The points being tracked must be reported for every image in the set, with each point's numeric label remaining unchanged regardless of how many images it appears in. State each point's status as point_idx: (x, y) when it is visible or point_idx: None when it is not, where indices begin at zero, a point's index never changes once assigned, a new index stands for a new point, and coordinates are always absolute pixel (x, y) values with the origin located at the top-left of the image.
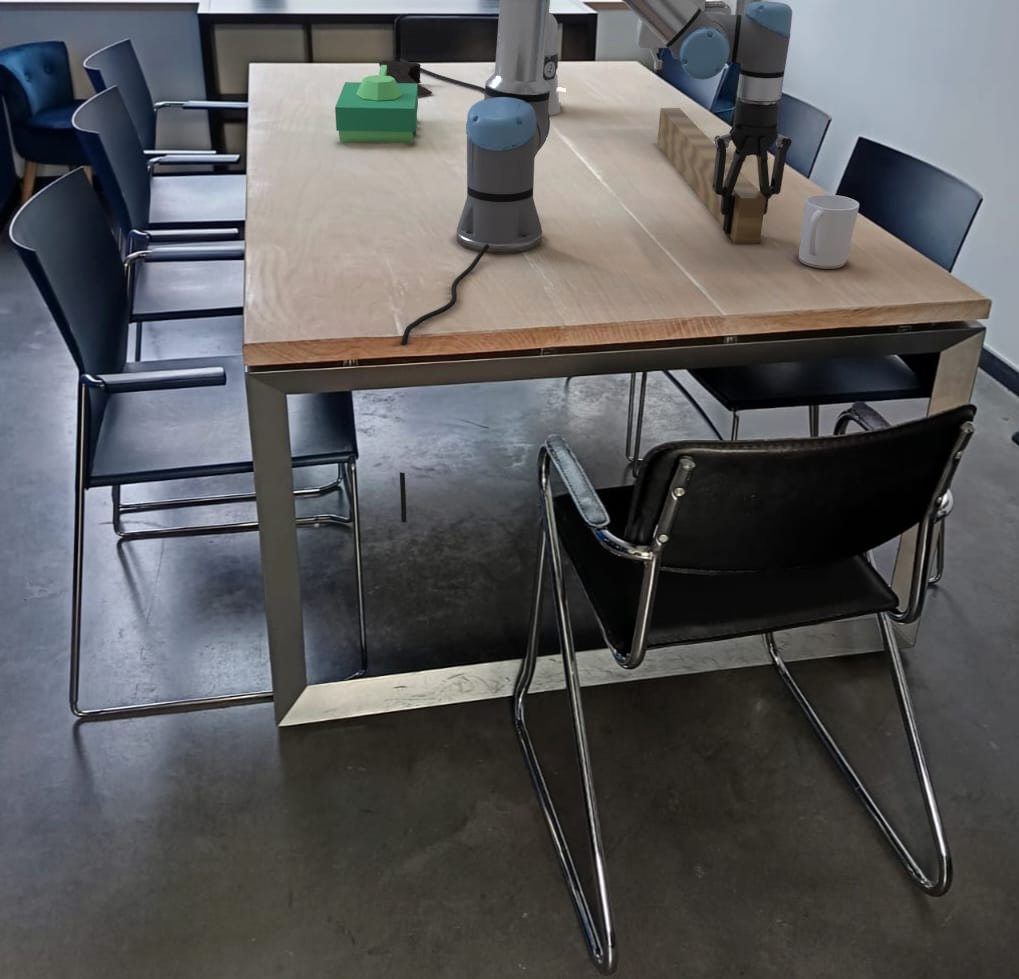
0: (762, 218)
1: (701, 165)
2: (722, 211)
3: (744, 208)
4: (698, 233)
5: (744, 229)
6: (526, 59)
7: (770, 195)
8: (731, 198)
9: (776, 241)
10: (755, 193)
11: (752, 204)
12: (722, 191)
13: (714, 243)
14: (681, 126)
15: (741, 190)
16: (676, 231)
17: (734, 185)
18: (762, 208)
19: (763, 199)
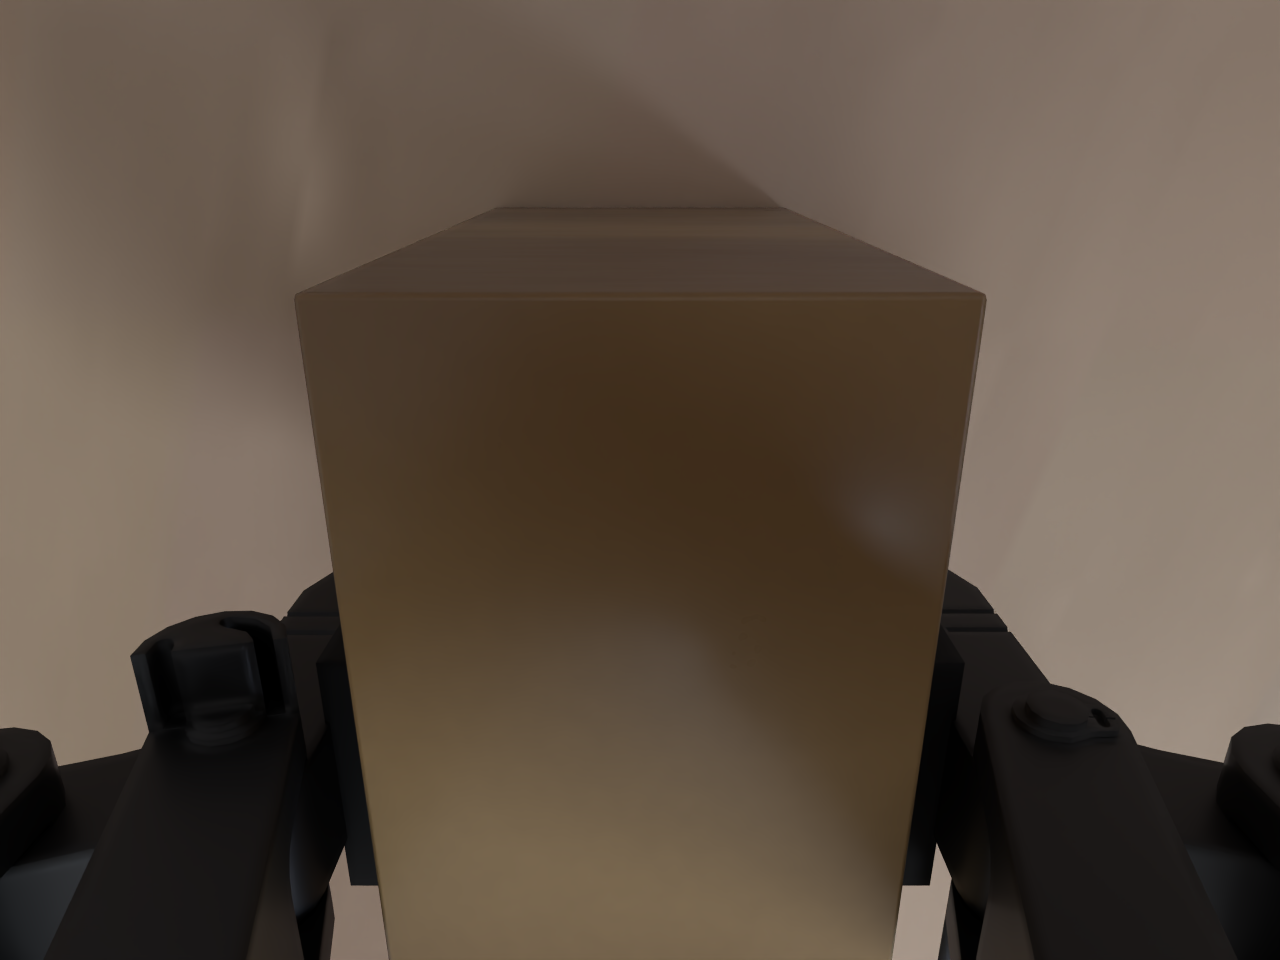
0: (436, 237)
1: None
2: (977, 591)
3: (809, 254)
4: (1064, 552)
5: (710, 223)
6: None
7: (153, 671)
8: (940, 691)
9: (280, 278)
10: (496, 658)
11: (647, 272)
12: (1190, 808)
13: (1024, 227)
14: None
15: (755, 849)
16: (1261, 613)
17: (1031, 878)
18: (421, 255)
19: (371, 291)
